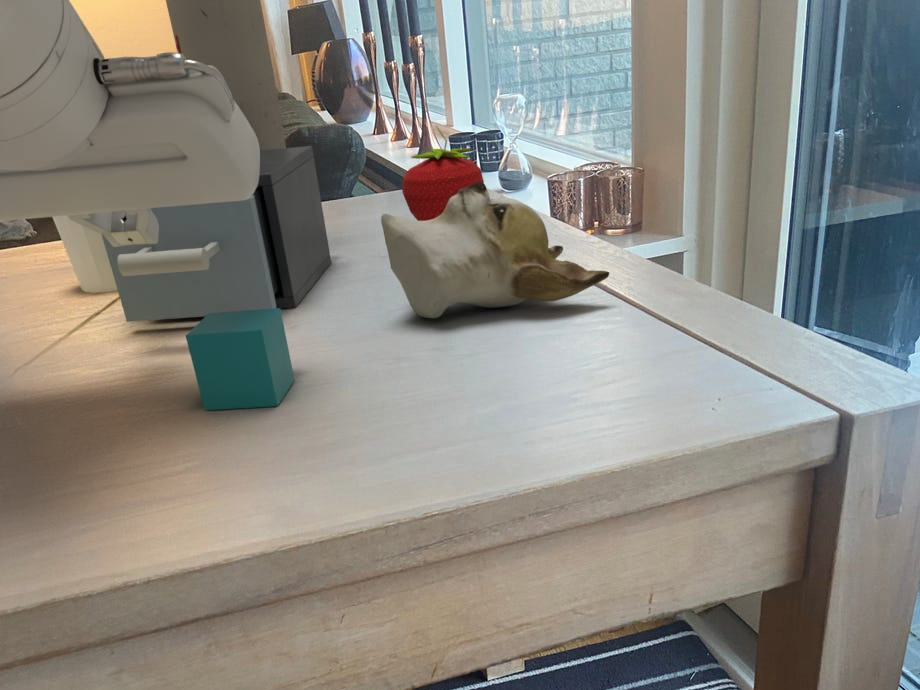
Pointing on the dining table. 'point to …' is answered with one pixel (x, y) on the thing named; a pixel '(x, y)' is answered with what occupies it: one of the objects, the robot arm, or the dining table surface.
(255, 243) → the grey drawer
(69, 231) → the white tapered cup
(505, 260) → the ceramic sculpture
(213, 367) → the teal matte cube
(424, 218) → the strawberry
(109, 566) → the dining table surface
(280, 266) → the drawer cabinet
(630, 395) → the dining table surface
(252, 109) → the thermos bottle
